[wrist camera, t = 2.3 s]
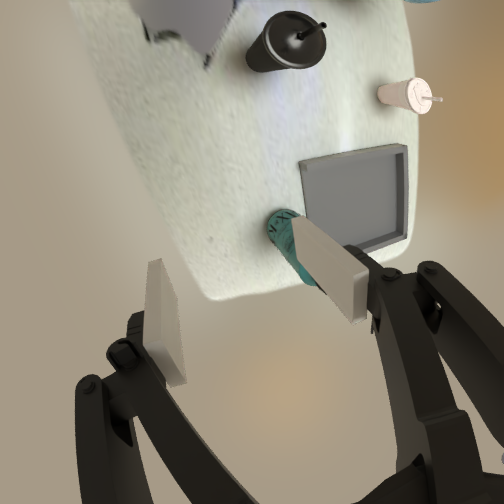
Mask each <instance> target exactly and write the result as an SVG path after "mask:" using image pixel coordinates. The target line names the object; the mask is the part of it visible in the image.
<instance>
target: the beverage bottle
mask: <svg viewBox="0 0 504 504" xmlns="http://www.w3.org/2000/svg"><path fill="white" fill-rule="evenodd" d="M299 216H301V215H300V214H299V215H298V214H297V213H296V212H294V211H292V210H289V209H287V210H281V211H278V212H277V213H275V214H274V215H273V216H272V217H271V218H270V220H269V222H268V226H267V230H268V233H267V234H268V235H269V237H270V238H269V239H270V240H271V241H272V242H273V243H274V244H275V245H276V247H277V250H278V249H279V250H280V252H281V253H282V254H283V256H284V257H285V260H287V262H289V263H290V264H291V266H292V267H293V268H294V269H295V271H296V272H297V273H298V275H299V276H300V278H301V279H302V281H303V282H304V283H306V284H307V285H310V286H317V287H318V288H319V289H320V290H322V291H323V292H324V293H325V291H324V290H323V289H322V288H321V287H320V286H319V284H318V283H317V282H316V281H315V280H314V278H313V277H312V276H311V275H310V274H309V273H308V271H307V270H306V269H305V268H304V267H303V266H302V264H301V263H300V262H299V261H298V260H297V255H296V248H295V241H294V234H293V228H292V221H291V219H292V218H296V217H299ZM275 245H274V246H275ZM325 294H326V293H325ZM326 295H327V294H326Z"/></svg>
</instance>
